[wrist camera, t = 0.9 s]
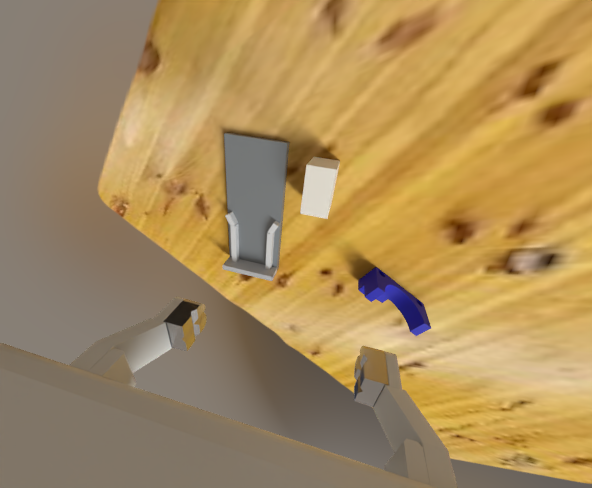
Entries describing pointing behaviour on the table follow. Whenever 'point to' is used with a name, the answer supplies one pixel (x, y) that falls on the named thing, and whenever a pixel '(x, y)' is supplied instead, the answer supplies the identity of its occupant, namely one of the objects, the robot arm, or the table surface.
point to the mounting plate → (255, 203)
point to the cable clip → (395, 299)
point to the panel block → (319, 186)
